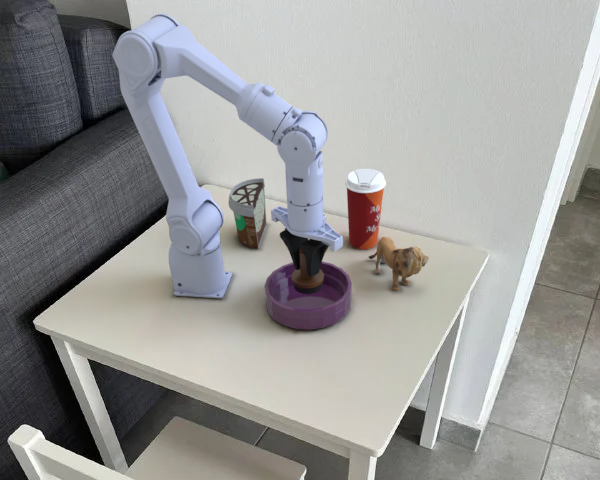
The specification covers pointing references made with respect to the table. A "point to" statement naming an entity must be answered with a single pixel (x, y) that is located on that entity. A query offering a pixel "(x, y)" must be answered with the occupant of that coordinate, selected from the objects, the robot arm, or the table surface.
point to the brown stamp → (306, 278)
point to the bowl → (308, 298)
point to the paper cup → (364, 206)
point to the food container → (249, 211)
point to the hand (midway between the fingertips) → (307, 270)
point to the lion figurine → (399, 260)
